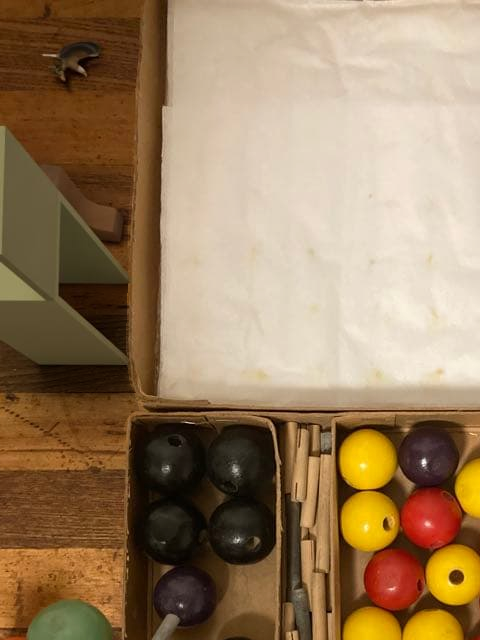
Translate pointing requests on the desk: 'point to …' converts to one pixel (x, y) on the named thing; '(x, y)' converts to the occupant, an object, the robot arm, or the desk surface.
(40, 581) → the desk surface
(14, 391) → the desk surface
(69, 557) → the desk surface
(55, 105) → the desk surface
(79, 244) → the shelf
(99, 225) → the wooden block
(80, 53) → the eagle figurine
